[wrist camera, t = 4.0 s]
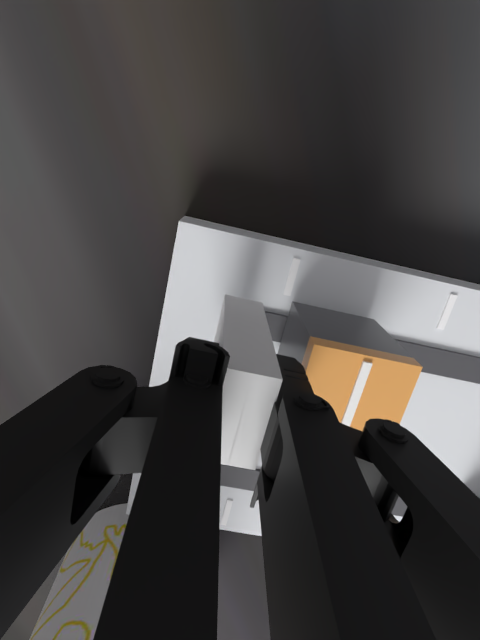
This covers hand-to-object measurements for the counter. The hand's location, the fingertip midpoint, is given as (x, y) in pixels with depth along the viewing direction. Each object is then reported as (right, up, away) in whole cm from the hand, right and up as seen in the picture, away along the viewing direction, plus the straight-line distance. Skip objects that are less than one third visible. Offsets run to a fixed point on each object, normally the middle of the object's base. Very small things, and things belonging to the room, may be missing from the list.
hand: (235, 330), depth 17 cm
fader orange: (+4, 0, +1) cm, 4 cm away
